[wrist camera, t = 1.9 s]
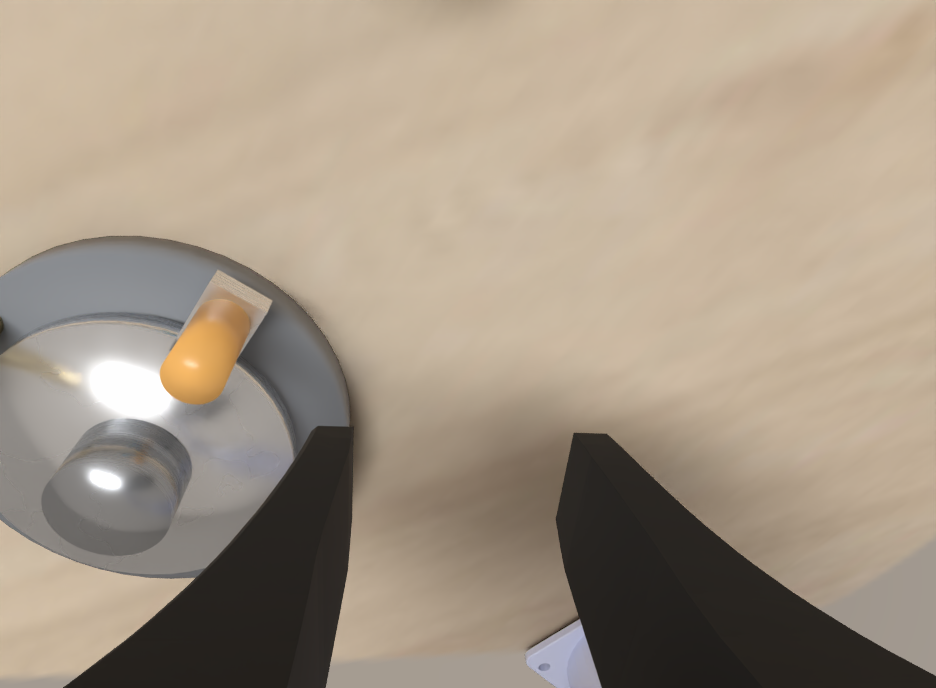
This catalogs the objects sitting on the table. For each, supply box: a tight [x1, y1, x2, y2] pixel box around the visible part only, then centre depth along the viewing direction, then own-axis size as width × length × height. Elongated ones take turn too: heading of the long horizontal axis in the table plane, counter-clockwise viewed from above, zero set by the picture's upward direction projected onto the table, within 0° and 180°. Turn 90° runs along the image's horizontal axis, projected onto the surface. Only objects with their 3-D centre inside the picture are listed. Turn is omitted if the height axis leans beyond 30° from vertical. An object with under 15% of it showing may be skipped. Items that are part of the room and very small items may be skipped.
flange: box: [0, 270, 297, 575], centre depth 18 cm, size 11×9×4 cm
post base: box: [0, 236, 350, 579], centre depth 19 cm, size 12×12×4 cm
